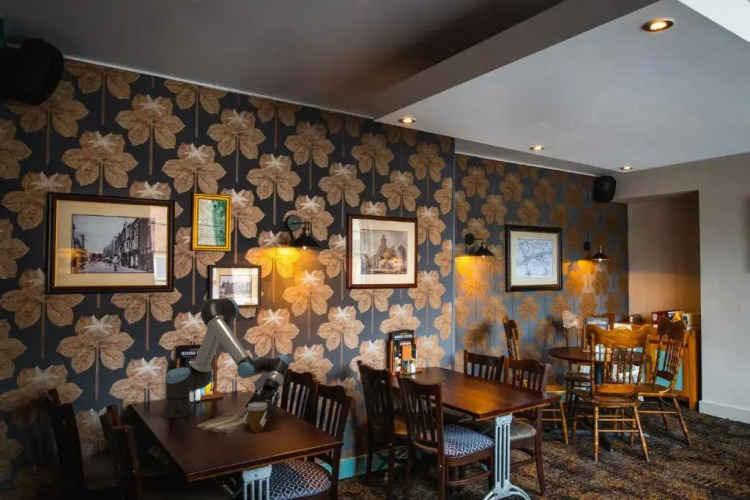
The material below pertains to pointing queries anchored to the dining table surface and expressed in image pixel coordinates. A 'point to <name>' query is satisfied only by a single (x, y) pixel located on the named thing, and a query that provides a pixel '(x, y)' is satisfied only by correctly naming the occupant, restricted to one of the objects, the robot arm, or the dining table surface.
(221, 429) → the striped beige cloth
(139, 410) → the dining table surface
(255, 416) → the disposable coffee cup
